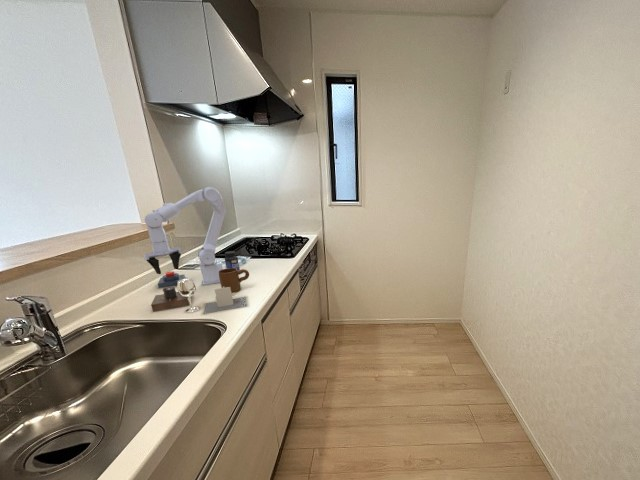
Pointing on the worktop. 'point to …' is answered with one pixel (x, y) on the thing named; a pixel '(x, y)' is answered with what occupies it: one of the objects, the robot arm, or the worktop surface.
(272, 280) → the worktop surface
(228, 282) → the mug
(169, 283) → the button box
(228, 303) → the architectural model
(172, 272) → the button
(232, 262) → the pill bottle
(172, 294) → the knob
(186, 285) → the wineglass
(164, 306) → the panel
